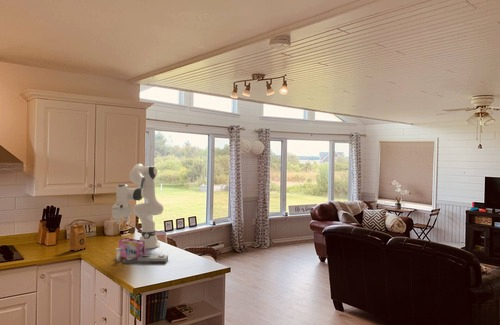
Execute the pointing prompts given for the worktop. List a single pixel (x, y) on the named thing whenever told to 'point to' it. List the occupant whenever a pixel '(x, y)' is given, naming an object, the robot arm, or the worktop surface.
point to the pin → (118, 254)
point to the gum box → (131, 248)
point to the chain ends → (147, 259)
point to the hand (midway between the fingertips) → (122, 223)
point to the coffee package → (77, 237)
